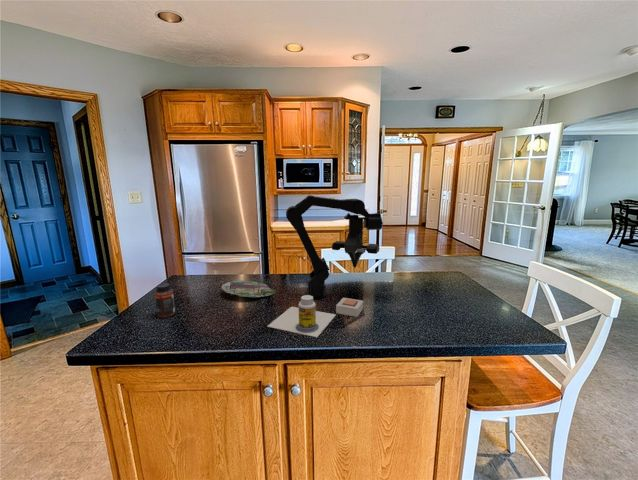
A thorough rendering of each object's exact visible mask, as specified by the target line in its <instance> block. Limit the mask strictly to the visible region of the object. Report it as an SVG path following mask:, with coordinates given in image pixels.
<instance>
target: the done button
mask: <svg viewBox="0 0 638 480" xmlns="http://www.w3.org/2000/svg"><path fill="white" fill-rule="evenodd" d="M350 299H351V298H349V299H346V300H345V301H344V302H343V305H347V306H353V307H355V306H356V304H357V301H356V300H357V299H355V300H350Z"/></svg>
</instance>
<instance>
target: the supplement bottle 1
mask: <svg viewBox="0 0 638 480" xmlns="http://www.w3.org/2000/svg"><path fill="white" fill-rule="evenodd" d="M154 302H155V310H156V316H157V317H158V318H161V319H163V318H169V317H172V316H173V315H175V314H176V307H175V306H176V305H175V296H174V291H173V289H172V288H170V284H169V283H159V284H157V285H156V291H155V292H154Z"/></svg>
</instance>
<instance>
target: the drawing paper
mask: <svg viewBox="0 0 638 480" xmlns="http://www.w3.org/2000/svg"><path fill="white" fill-rule="evenodd" d="M336 316H337V313H330V312H324V311H319V310H316V325H315V327H314V328H313V329H310V330H304V329H301V328H300V327H299V307H298V306H297V307H296V306H290V307H289V308H288V309H287V310H285V311H284V312H283V313H282V314H281V315H279V316H278V317H276V318H275V319H274V320H272V322H270V323H269V324H268V325H267V328H271V329H272V328H273V329H277V330H280V331H281V330H282V331H285V332H290V333H295V334H298V335H304V336H309V337H312V338H318V337H319V336H320V335H321V333H322V332H324V330H325V329H326V328H327V326H328V325H329V324H330V323H331V321H333V319H334V318H335V317H336Z"/></svg>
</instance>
